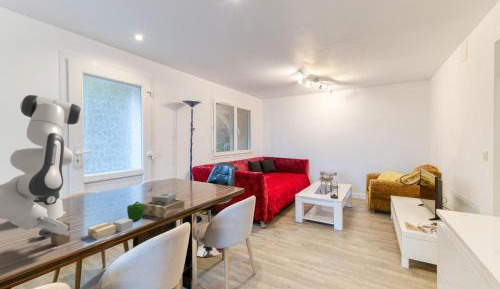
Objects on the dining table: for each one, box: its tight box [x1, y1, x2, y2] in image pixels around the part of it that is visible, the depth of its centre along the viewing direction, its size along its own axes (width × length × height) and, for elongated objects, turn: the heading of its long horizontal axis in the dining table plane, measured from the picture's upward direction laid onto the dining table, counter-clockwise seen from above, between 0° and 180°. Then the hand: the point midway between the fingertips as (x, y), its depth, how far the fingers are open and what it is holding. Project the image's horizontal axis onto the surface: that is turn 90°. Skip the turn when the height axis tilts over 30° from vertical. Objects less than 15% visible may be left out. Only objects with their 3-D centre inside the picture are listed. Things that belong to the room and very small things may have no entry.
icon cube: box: [151, 192, 177, 206], centre depth 137 cm, size 10×10×10 cm
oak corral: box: [141, 198, 186, 219], centre depth 136 cm, size 17×17×6 cm
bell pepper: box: [126, 201, 144, 221], centre depth 123 cm, size 8×8×10 cm
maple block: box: [87, 222, 117, 241], centre depth 103 cm, size 8×8×4 cm
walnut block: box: [50, 221, 71, 247], centre depth 95 cm, size 4×4×8 cm
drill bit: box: [38, 229, 51, 240], centre depth 101 cm, size 5×5×10 cm
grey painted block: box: [112, 217, 134, 233], centre depth 111 cm, size 6×6×4 cm
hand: (61, 231), depth 95 cm, fingers open, 8 cm apart
